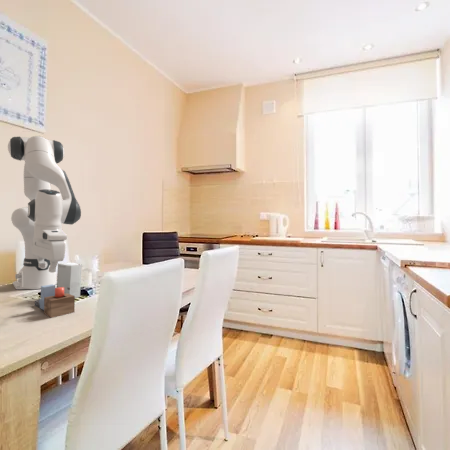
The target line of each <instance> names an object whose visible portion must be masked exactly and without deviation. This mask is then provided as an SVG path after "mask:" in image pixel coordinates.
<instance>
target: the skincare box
mask: <svg viewBox="0 0 450 450" xmlns="http://www.w3.org/2000/svg"><path fill="white" fill-rule="evenodd" d="M82 267H83V266H82V264H81V263H77V262H70V261H67V262H58V264H57V271H56V280H57V284H56V288H58V287H64V294H66V293H68V294H70V295H73V296H75V299H78V298H81V287H82V286H81V283H82Z"/></svg>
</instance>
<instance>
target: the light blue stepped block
mask: <svg viewBox="0 0 450 450" xmlns="http://www.w3.org/2000/svg"><path fill="white" fill-rule="evenodd" d="M55 288H56V284H55V285H53V284H52V285H45V286H41V288H40V298H39V299H38V300H39V304H40V308H41V310H42V311H44V297H50V296H55ZM40 308H39V309H40Z"/></svg>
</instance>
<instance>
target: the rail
mask: <svg viewBox="0 0 450 450" xmlns="http://www.w3.org/2000/svg"><path fill="white" fill-rule="evenodd" d="M34 306H35V307H37V308H39V309H41V308H40V304H39V299H35V300H34ZM41 310H42V309H41Z"/></svg>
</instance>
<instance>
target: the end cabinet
mask: <svg viewBox="0 0 450 450" xmlns="http://www.w3.org/2000/svg"><path fill="white" fill-rule="evenodd" d="M75 300H76V298H75V296H73V295H70V294H68V293H66V294H64V296H63V297H55V296H50V297H44V310H43V313H44V315H45V316H47V317H49V318H51V319H53V318H56V317H60V316H63V315H69V314H72V313H75V310H76V309H75V306H76V305H75V302H76V301H75Z"/></svg>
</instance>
